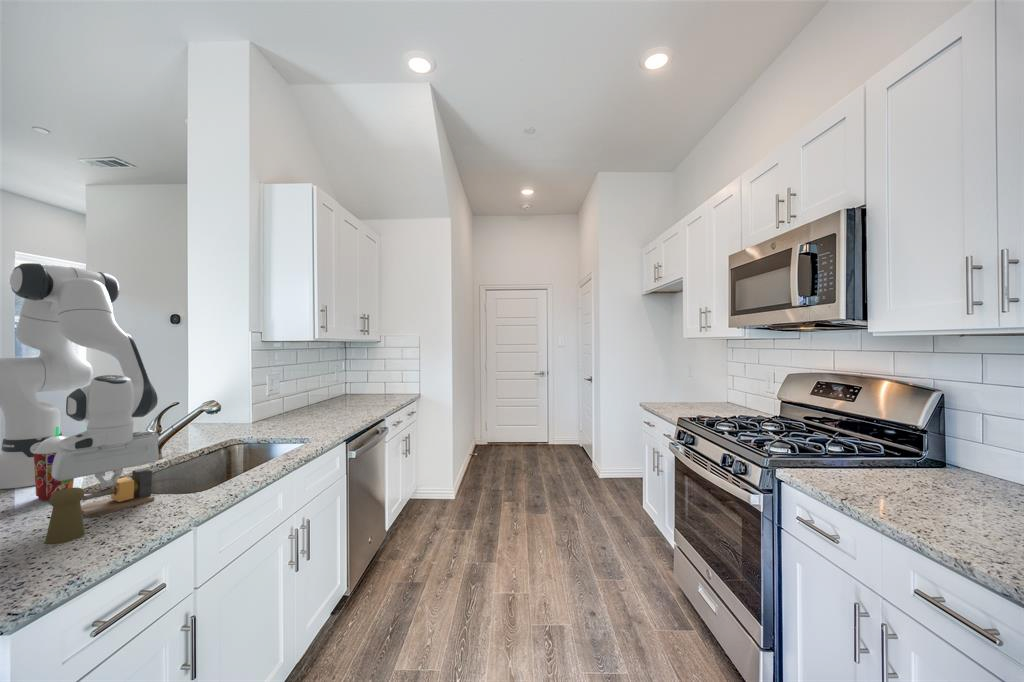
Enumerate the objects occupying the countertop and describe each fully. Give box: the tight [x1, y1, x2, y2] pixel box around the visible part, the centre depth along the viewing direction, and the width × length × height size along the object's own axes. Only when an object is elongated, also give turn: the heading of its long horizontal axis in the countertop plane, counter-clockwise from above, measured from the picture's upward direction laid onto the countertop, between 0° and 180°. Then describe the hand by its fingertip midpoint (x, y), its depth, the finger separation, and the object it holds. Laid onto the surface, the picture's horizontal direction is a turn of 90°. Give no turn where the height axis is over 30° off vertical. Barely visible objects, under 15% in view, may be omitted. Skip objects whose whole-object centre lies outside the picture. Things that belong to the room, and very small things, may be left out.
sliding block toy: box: [81, 467, 155, 518], centre depth 107 cm, size 9×13×8 cm
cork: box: [44, 487, 86, 546], centre depth 89 cm, size 6×6×11 cm
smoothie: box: [33, 426, 75, 502], centre depth 112 cm, size 8×8×20 cm
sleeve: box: [110, 476, 134, 502], centre depth 108 cm, size 5×3×5 cm, turn 63°
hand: (108, 487), depth 105 cm, fingers closed
